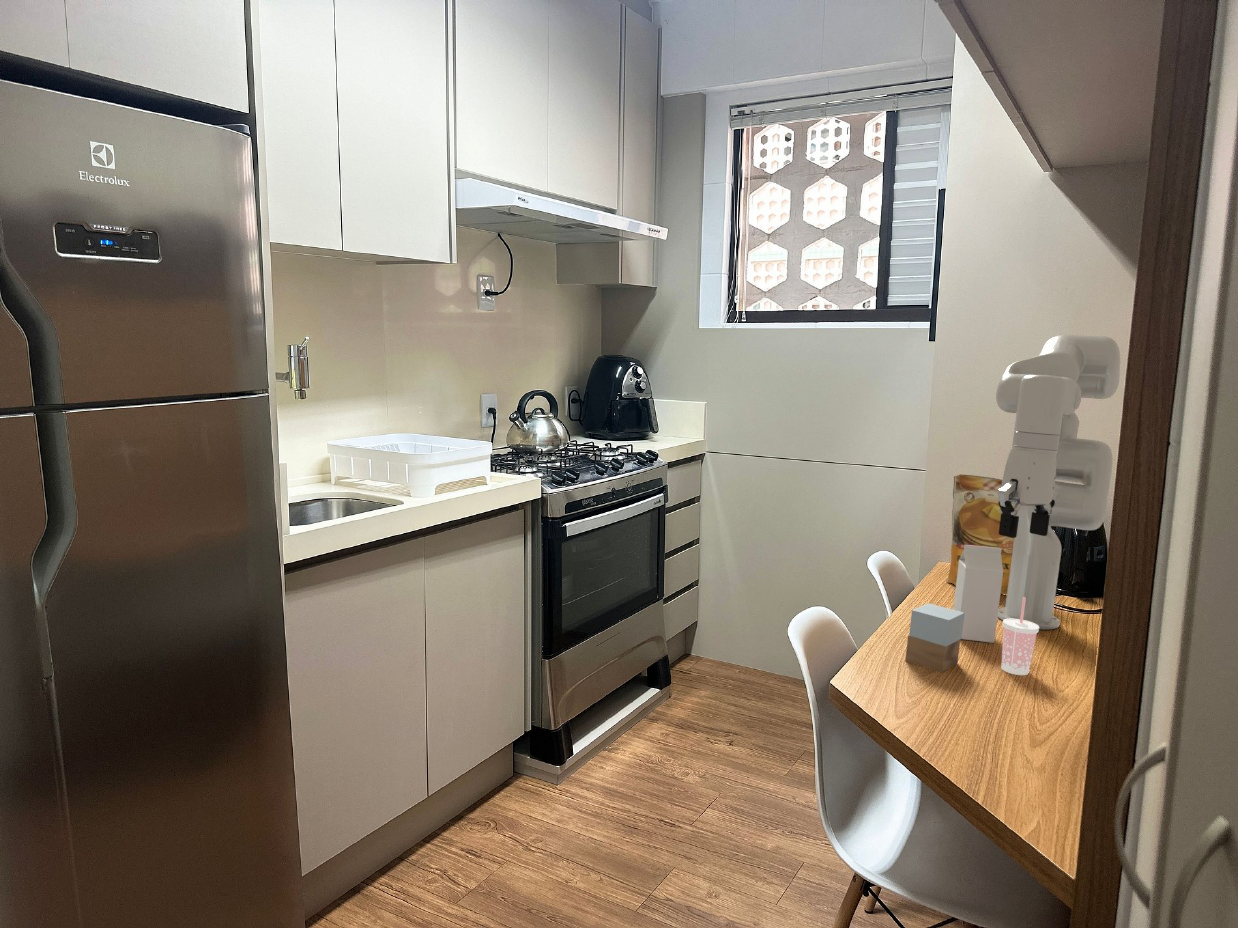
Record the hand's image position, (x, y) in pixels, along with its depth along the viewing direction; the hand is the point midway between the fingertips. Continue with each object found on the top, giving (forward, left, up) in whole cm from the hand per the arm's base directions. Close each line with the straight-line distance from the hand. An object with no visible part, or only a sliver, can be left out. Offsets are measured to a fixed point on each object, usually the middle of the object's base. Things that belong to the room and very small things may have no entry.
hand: (1022, 535), depth 154 cm
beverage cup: (+2, +2, -25) cm, 25 cm away
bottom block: (+11, -10, -25) cm, 29 cm away
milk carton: (-11, -11, -25) cm, 30 cm away
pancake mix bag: (-50, -24, -25) cm, 61 cm away
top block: (+10, -10, -20) cm, 25 cm away
